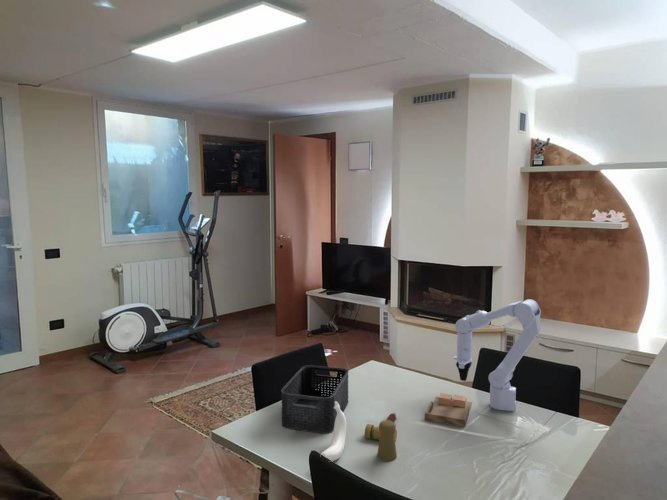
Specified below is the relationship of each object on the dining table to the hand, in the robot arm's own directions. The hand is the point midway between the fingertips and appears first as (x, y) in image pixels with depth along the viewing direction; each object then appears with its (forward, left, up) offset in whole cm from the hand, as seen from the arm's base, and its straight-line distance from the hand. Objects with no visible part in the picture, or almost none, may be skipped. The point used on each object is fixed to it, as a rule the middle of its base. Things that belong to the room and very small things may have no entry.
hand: (463, 380), depth 187 cm
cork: (+16, +54, -8) cm, 57 cm away
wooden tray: (+3, +16, -7) cm, 18 cm away
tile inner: (0, +9, -7) cm, 11 cm away
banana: (+31, +60, -8) cm, 68 cm away
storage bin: (+48, +36, -8) cm, 61 cm away
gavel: (+21, +37, -8) cm, 43 cm away
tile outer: (+6, +9, -7) cm, 12 cm away
